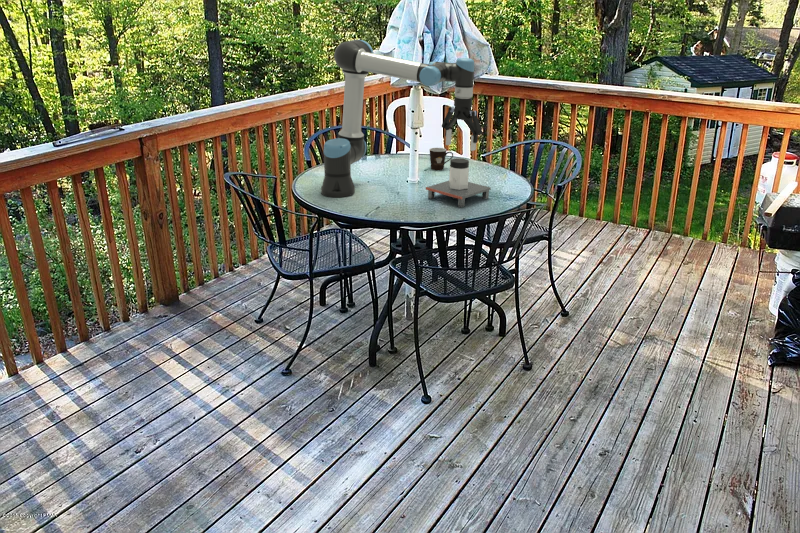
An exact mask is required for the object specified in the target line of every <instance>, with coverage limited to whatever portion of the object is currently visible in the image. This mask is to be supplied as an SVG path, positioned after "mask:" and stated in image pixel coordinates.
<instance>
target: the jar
mask: <svg viewBox="0 0 800 533" xmlns="http://www.w3.org/2000/svg"><path fill="white" fill-rule="evenodd" d="M449 162H450V163H449V177H448V178H449V180H448V181H449V187H450V189H456V190H462V189H468V182H469V174H470V173H469V172H470V168H469V166H470V161H469V159H466V158H462V157H461V158H460V157H457V158H452V159H451V160H449Z"/></svg>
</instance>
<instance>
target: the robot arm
mask: <svg viewBox="0 0 800 533" xmlns="http://www.w3.org/2000/svg"><path fill="white" fill-rule="evenodd" d="M333 55H334V56H333V58H334V61H335V64H336V65H337V66H338V67H339V68H340V69H341V72H342V74H343V75H344V92H343V105H342V109H343V110H342V111H343V113H342V124H341V126H342V127H341V130H339V132H338V133H337V134H338V136H337V137H336V138H331V139H327V141H325V142H324V144H323V164H324V165H323V166H324V167H323V168H324V170H323V172H324V178H323V180H322V185H321V188H320V191H321V192H320V193H321V195H323V196H325V197H330V198H345V197H350V196H353V195H354V194H355V192H356V189H355V188H356V187H355V185H354V181H353V179H352V176H351V173H352V172H351V167H352V166H351V165H352V164H353V165H354V163H357V162H359V161H360V160H362V159H363V157H364V156H365V155H366V153H367V143H366V141H365V137H364V136H365V134H364V133H363V132H362V122H363V121H362V120H363V109H364V108H363V106H364V92H365V79H366V77H367V76H368V75H369V74H370V73H373V74H377V75H383V76H388V77H392V78H397V79H401V80H408V81H411V82H418V83H421V84H423V85H424V86H426V87H433V86H435V85H437V84H439V83H442V82H452V83H453V82H454V100H453V101H454V102H453V106H448V108H447V109H448V110H447V113H446V114H445V115H446V116H445V117H444V119H443V122H442V124H441V128H444V130H445V131H444V136H445V146H449V145H452V134H453V129H452V127H453V126H454V125H455V124H456V122H457V121H458V120H461V121H464V122H465V123H466V124H467V126H468V129H469V130H470V131H471V136H470V152H472V151H473V152H474V151H476V148H477V143H478V140H479V135H482V134H483V130H482V126H481V124H480V120H479V117H478V111H477V110H472V107H473V98H472V97H473V96H474V94H473V93H474V79H475V78H474V77H475V61H474V59H473V58H470V57H469V58H468V57H460V58H457V59H456V61H455V62H443V61H430V62H428V63H422V62H418V61H414V60H408V59H403V58H400V57H399V58H398V57H394V56H388V55H383V54H378V53H374V50H373V48H372V46H371V44H370V43H368V42H367V41H365V40H362V39H354V40H353V39H352V40H350V41H348V40H347V41H344V42H341V43H340V44H339V45H337V47H336V48H335V51H334V54H333Z"/></svg>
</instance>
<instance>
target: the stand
mask: <svg viewBox="0 0 800 533" xmlns="http://www.w3.org/2000/svg"><path fill="white" fill-rule="evenodd" d="M425 190H426V191H427V192H428V194H427V198H428V199H430V200H433V199H435V196H436V195H435V194H436V193H437V194H440V195H444V196H447V197H452V199H453V200H455V201H458V202H457V207H458V208H465V205H466V204H465V202H466V201H465V200H466V198H470V197H473V196H477V195H479V194H482V195H481V199H483V200H488V199H489V195H490V190H491V191H492V188H491V187H490V186H486V185H482V184H478V183H475V182H472V181H468V189H462V190H456V189H450V187H449V180H446V181H443V182H440V183H436V184H433V185H430V186H426V187H425Z"/></svg>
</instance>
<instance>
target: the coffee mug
mask: <svg viewBox="0 0 800 533" xmlns="http://www.w3.org/2000/svg"><path fill="white" fill-rule="evenodd" d="M447 154H451V157H450V158H449V159H448V160H446V157H447ZM429 158H430V159H429V161H430V170H432V171H437V170H439V171H444V169H445V168H444V167H445V165H446V164H447V163H448V162H450V160H451V159H453V158H454V153H453V152H452V151H447V149H446V148H445V147H444V148H443V147H430V148H429Z"/></svg>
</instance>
